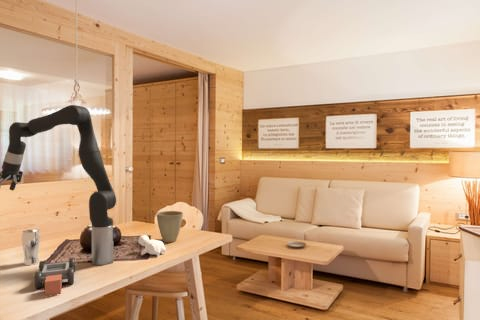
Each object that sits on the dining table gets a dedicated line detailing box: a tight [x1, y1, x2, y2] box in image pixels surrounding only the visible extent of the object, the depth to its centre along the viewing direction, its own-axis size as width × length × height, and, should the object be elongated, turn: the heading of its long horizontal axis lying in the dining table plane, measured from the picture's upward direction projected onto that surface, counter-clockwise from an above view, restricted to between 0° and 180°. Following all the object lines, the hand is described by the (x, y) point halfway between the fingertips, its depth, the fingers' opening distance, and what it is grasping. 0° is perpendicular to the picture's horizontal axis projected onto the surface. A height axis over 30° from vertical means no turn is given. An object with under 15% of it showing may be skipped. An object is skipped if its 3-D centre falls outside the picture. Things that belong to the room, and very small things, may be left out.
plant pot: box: [156, 210, 184, 243], centre depth 199 cm, size 15×15×16 cm
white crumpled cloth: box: [137, 234, 167, 258], centre depth 176 cm, size 8×8×15 cm
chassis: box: [34, 257, 76, 289], centre depth 140 cm, size 13×19×6 cm
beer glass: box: [21, 228, 41, 266], centre depth 159 cm, size 7×7×15 cm
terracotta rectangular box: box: [44, 274, 63, 297], centre depth 128 cm, size 5×6×6 cm
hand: (4, 190), depth 174 cm, fingers open, 8 cm apart
